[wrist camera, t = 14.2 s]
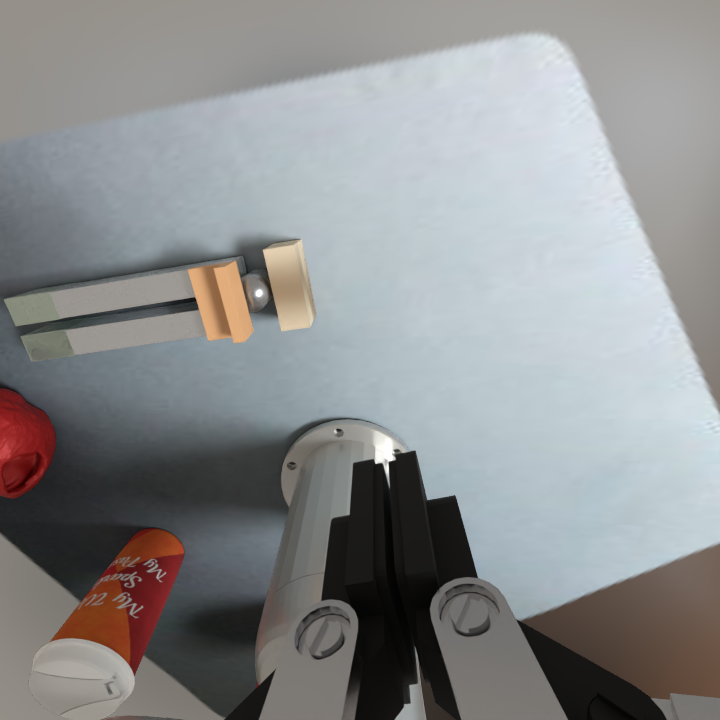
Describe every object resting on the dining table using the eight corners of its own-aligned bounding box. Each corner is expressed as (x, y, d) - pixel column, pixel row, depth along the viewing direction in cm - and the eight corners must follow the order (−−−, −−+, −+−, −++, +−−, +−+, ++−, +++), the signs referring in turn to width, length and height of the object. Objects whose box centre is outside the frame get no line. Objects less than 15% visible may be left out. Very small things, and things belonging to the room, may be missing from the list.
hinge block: (316, 314, 37) (310, 327, 34) (289, 317, 37) (281, 331, 34) (301, 239, 35) (293, 245, 31) (273, 243, 35) (262, 249, 32)
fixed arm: (244, 319, 37) (232, 332, 34) (61, 346, 38) (31, 361, 35) (238, 294, 36) (224, 305, 33) (51, 322, 38) (20, 336, 34)
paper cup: (183, 515, 45) (105, 652, 32) (203, 574, 47) (139, 722, 34) (108, 523, 45) (1, 660, 32) (132, 580, 48) (42, 728, 35)
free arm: (280, 298, 36) (271, 309, 33) (54, 334, 38) (25, 347, 35) (269, 250, 35) (258, 257, 32) (35, 289, 37) (3, 299, 33)
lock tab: (253, 331, 33) (245, 341, 31) (212, 337, 34) (200, 348, 31) (235, 260, 32) (225, 266, 29) (191, 267, 32) (178, 273, 30)
